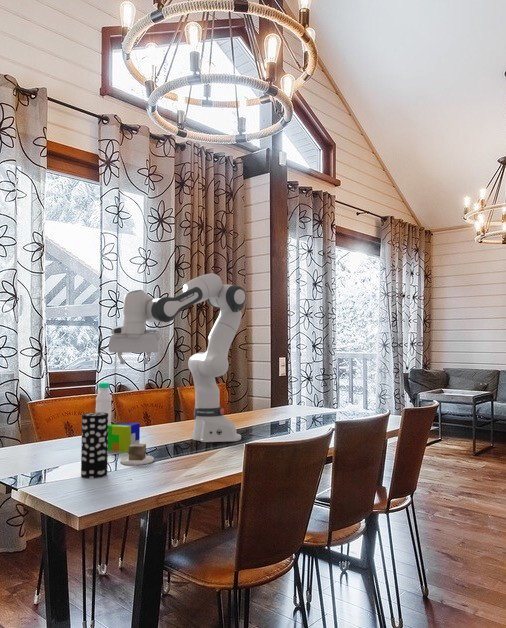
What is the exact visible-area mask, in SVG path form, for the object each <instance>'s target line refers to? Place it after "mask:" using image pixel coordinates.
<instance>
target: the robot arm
mask: <svg viewBox="0 0 506 628" xmlns="http://www.w3.org/2000/svg"><path fill="white" fill-rule="evenodd" d="M246 298H247V293H246V291H245V289H244V288H243V287H242V286H240V285H236V284H227V283H226V284H223V281H222V279H221V277H220V276H219V275H218V274H216V273H213V272H211V273H206V274H202V275H199V276H197V277H194V278H192V279H190V280H188V281H187V282H186V283H184V284H183V286H182V292H181V293H179V294H178V295H175V296H173V297H170V296H165V297H160V298H154V297H152V296H150V295H148V294H147V292H145V290H143V289H137V290H131V291H130V290H129V291H127V292H126V293H125V295H124V298H123V308H122V309H123V310H122V311H123V315H124V317H123V323H122V325H119V326H117V327H114V328H111V330H110V331H111V335H110V337H109V340H108V351H109V353H117V357H118V359H119V363H120V365H126V359H123V354H124V353H129V354H130V353H132V354H133V353H139V354H140V353H142V354H143V353H145V354H146V358H145V359H143V365H148V364H149V360H150V357H151V355H152V353H159V351H160V349H161V346H160V339H161V333H160V332H159V331H158V330H156V329H146V325H147V324H146V322H149V323H160V322H161V323H170V322H171V321H173V320H174V319H175V318H176V317H178V315H179V314H180V313H181V312H182V311H183V310H185V309H187V308H189V307H191V306H192V305H197V304H201V303H202V302H205V301H206V303H207V304H208V305H209V306H211V307H213V308H218V309H219V310H220V311H219V315H218V316H217V318H216V320H215V322H214V324H213V326H212V328H211V330H210V332H209V335H208V336H207V340H208V346H207V348H206V351H204V352H202V351H200V352H196V353H194V354H192V355H191V356H190V357H189V359H188V361H187V366H188V370H189V371H190V372H191V376H192V380H193V384H194V392H195V393H194V394H195V396H194V398H195V402H194V403H195V405H194V409H193V418H194V425H193V431H192V435H191V440H193V441H199V442H202V443H218V442H222V443H223V442H238V441H241V439H242V435H241V434H240V433H237V427H236V425H235V423H234V422H233V421H232V420H230V418H228V417H227V416H226V415H225V409H224V408H223V407H221V404H220V402H221V401H220V398H221V397H220V394H221V392H220V388H219V386H218V384H217V381H216V378H218V377H221V376H223V375H225V374H226V373H227V372H228V370H229V360H228V357H229V351H230V348H231V345H232V343H233V341H234V338H235V336H236V334H237V332H238V330H239V327H240V324H241V321H242V316H243V314H242V311H241V310H242V309H243V308H244V306H245V303H246V300H247V299H246Z"/></svg>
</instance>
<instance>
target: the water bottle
mask: <svg viewBox="0 0 506 628" xmlns="http://www.w3.org/2000/svg"><path fill="white" fill-rule="evenodd" d="M109 389H110V383H109V382H99V383H98V390H99V391H98V393H97V395H96V397H95V413H108V425H110V424H112V396H111V393H110V392H109Z"/></svg>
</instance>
